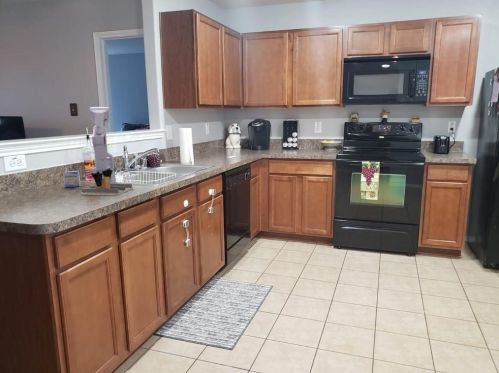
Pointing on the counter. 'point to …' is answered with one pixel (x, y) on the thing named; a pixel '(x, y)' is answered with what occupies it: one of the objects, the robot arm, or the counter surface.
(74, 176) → the medicine box
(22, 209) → the counter surface
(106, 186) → the orange block
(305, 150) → the counter surface
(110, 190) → the slot rack
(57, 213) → the counter surface
